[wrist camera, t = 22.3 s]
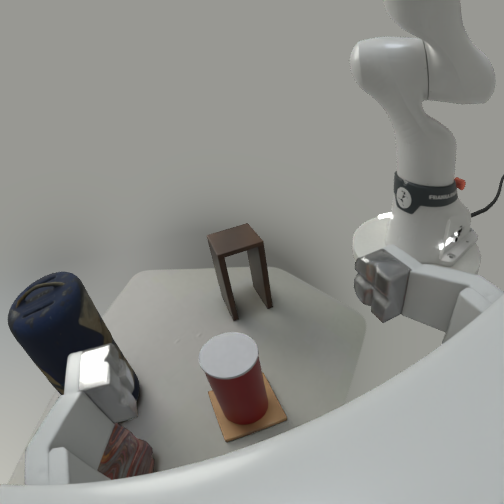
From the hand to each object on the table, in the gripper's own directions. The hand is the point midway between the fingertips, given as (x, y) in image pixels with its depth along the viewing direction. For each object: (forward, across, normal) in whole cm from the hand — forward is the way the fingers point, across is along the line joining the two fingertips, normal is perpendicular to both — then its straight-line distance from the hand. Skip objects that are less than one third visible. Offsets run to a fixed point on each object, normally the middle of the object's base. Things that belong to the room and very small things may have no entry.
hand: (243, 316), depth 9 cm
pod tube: (+11, 0, +23) cm, 26 cm away
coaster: (+11, 0, +24) cm, 26 cm away
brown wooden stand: (+28, -6, +24) cm, 37 cm away
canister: (+18, +16, +24) cm, 34 cm away
